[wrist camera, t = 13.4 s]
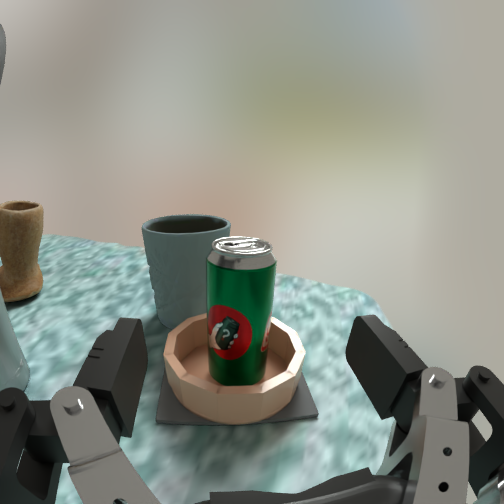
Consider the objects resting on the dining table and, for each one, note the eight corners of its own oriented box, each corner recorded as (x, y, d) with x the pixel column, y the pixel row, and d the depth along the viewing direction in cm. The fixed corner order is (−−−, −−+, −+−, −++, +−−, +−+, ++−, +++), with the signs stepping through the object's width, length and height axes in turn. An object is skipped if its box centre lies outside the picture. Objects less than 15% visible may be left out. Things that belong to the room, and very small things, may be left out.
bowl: (164, 423, 17) (155, 392, 16) (177, 339, 28) (174, 309, 27) (311, 417, 19) (321, 386, 18) (282, 338, 30) (286, 309, 29)
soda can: (272, 387, 21) (289, 253, 18) (214, 395, 20) (211, 256, 16) (255, 353, 26) (264, 234, 22) (205, 358, 25) (202, 235, 21)
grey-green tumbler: (242, 310, 36) (246, 220, 33) (195, 347, 28) (191, 238, 24) (184, 290, 41) (182, 211, 37) (134, 317, 32) (124, 224, 28)
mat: (156, 422, 18) (155, 419, 17) (170, 343, 28) (170, 340, 28) (317, 416, 19) (318, 413, 19) (288, 342, 30) (288, 339, 29)
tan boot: (57, 297, 34) (42, 199, 29) (-5, 312, 26) (-27, 213, 21) (50, 267, 44) (41, 193, 39) (1, 278, 36) (-11, 203, 31)
